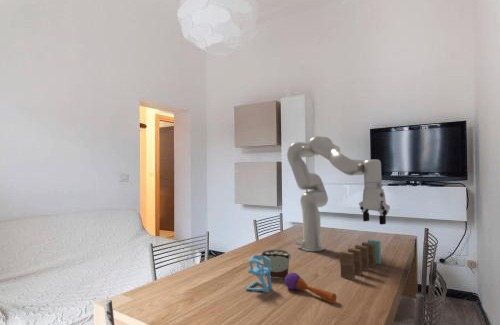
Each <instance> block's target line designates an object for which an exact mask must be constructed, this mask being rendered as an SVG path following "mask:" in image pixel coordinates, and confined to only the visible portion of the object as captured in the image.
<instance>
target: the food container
mask: <svg viewBox="0 0 500 325" xmlns="http://www.w3.org/2000/svg"><path fill="white" fill-rule="evenodd" d="M261 255H262V256H265V257H267V258H268V259H270V260H271V262H270V268H272V271H271V272H270V276H271V278H273V277H278V278H277V279H283V278H285V277H286V276H287V275H288V274H289V268H290V267H289V266H290V265H289V264H290V260H291V259H292V258H291V254H290V252H289V251H288V250H285V249H267V250H264V251H262V253H261ZM262 263H264V267H265V268H268V267H267V265H268V261H267V260H265V259H262ZM265 276H266V275H265ZM265 276H264V277H265Z"/></svg>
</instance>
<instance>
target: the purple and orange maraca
mask: <svg viewBox="0 0 500 325" xmlns="http://www.w3.org/2000/svg"><path fill="white" fill-rule="evenodd" d="M284 284H285V286H286V287H287V288H288V289H289V290H291V291H294V290H295V291H296V290H298V291H303V290H305V291H306V290H308V291H310V292H311V293H313V294H315V295H317V296H318V297H319V298H321V299H323V300H325V301H327V302H328V303H329V304H332V305H333V304H334V303H336V301H337V294H336V293H334V292H330V291H328V290H323V289H321V288H316V287H313V286H309V285H308V284H307V282H306V281H305V280H304V279H303V278H301V276H300V275H299V274H298V273H296V272H288V275H287V276H286V277H285V279H284Z"/></svg>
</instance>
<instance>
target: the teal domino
mask: <svg viewBox="0 0 500 325" xmlns="http://www.w3.org/2000/svg"><path fill="white" fill-rule="evenodd" d="M367 243H373V244H375V264H378V265H380V264H382V250H381V249H382V247H381V240H375V239H368V240H367Z"/></svg>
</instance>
